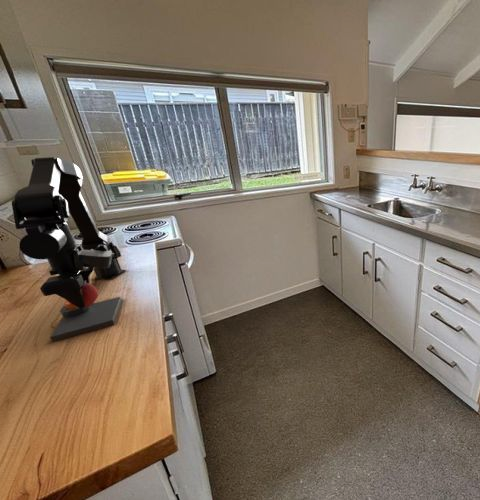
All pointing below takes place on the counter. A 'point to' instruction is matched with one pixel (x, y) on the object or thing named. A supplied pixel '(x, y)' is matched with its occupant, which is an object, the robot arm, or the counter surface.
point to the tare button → (70, 305)
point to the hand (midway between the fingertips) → (85, 301)
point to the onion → (89, 294)
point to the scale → (86, 318)
